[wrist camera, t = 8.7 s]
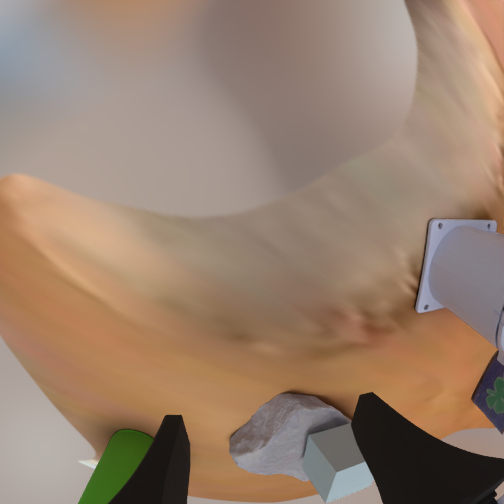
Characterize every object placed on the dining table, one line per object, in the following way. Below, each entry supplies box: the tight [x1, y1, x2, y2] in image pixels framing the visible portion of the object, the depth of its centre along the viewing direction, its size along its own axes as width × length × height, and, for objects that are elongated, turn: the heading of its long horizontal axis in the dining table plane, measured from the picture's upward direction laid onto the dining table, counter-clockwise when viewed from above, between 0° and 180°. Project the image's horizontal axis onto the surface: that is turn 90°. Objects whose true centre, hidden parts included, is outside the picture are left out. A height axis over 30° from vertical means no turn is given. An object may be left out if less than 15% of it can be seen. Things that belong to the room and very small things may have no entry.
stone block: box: [229, 393, 352, 481], centre depth 24 cm, size 12×5×10 cm
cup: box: [78, 430, 154, 504], centre depth 18 cm, size 9×9×11 cm
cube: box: [302, 423, 374, 503], centre depth 19 cm, size 4×4×5 cm
